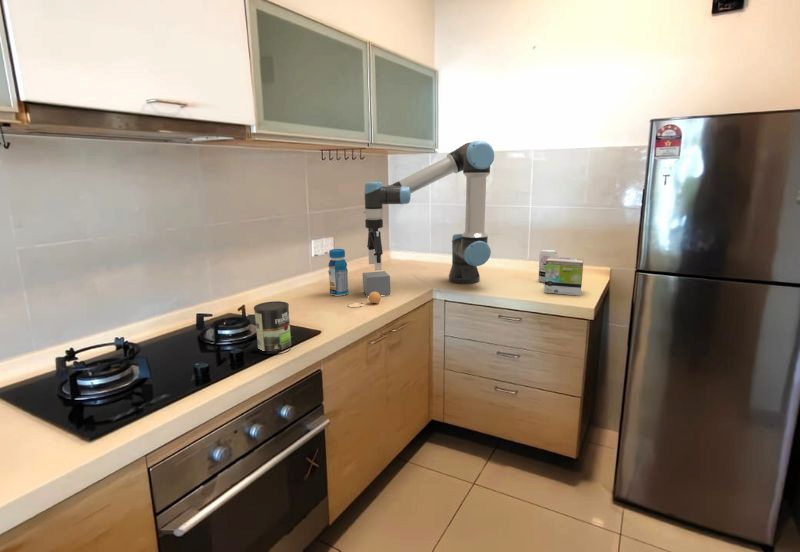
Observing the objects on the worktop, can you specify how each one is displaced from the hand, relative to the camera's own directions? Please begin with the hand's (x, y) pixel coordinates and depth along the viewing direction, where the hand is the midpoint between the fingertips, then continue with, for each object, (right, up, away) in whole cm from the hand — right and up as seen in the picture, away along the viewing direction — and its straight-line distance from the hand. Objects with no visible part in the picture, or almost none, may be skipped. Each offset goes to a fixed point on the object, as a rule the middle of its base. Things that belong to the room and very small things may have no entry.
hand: (375, 267), depth 203 cm
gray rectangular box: (+1, -12, +3) cm, 12 cm away
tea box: (+82, -11, -1) cm, 83 cm away
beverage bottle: (-16, -12, +4) cm, 21 cm away
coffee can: (-28, -27, -59) cm, 71 cm away
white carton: (+81, -7, +17) cm, 83 cm away
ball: (+1, -13, -13) cm, 18 cm away
